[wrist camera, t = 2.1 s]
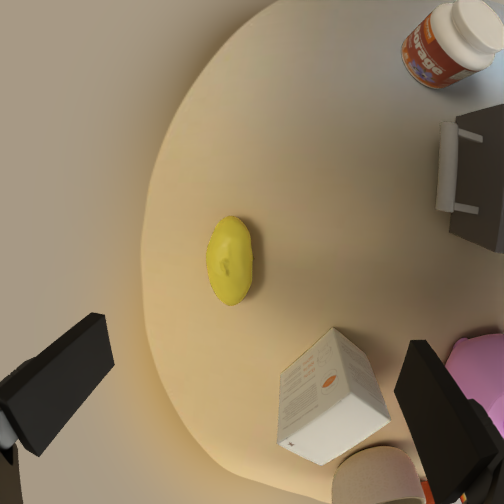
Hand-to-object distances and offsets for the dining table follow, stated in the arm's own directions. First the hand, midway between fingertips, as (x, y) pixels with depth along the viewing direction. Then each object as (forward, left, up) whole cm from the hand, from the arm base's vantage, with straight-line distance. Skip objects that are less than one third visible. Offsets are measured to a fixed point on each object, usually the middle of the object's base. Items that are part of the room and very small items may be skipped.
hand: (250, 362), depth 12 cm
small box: (+11, +7, -17) cm, 21 cm away
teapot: (+12, +27, -17) cm, 34 cm away
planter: (+30, +18, -17) cm, 39 cm away
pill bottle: (-21, +14, -17) cm, 30 cm away
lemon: (0, -3, -17) cm, 17 cm away
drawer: (-10, +22, -16) cm, 28 cm away
